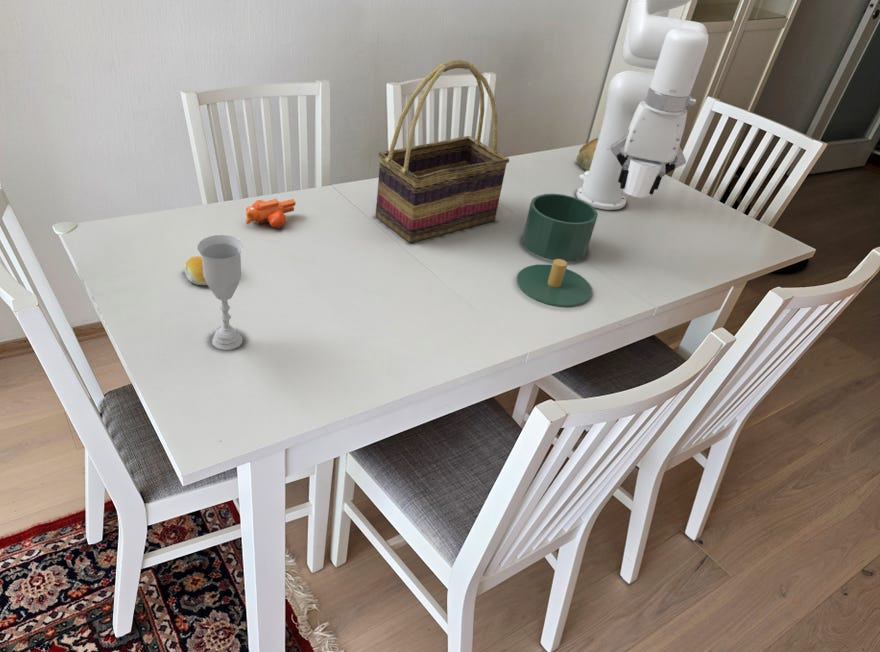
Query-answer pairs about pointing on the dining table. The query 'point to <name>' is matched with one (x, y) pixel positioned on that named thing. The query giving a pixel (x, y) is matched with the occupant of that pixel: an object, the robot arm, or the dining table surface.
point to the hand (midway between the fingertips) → (636, 188)
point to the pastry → (587, 154)
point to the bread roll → (195, 271)
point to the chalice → (222, 281)
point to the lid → (554, 284)
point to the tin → (559, 227)
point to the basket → (440, 175)
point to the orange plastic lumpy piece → (269, 212)
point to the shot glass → (641, 177)
